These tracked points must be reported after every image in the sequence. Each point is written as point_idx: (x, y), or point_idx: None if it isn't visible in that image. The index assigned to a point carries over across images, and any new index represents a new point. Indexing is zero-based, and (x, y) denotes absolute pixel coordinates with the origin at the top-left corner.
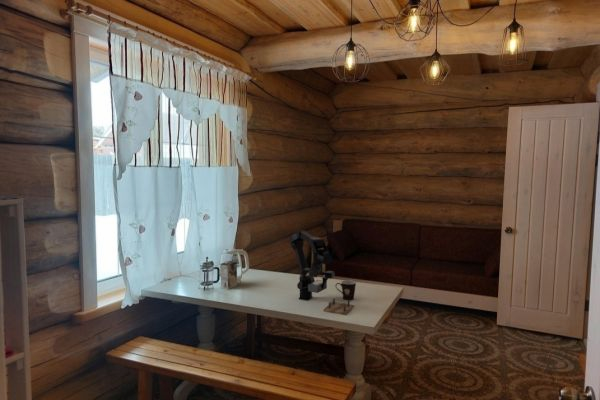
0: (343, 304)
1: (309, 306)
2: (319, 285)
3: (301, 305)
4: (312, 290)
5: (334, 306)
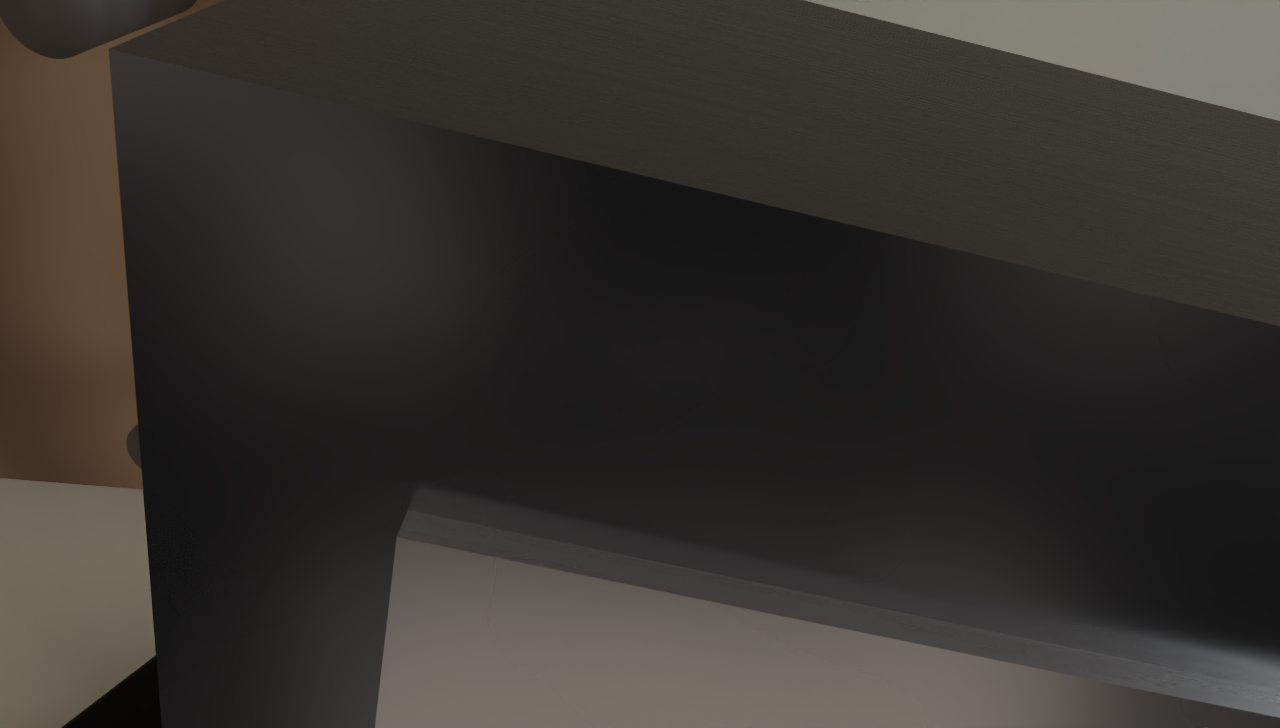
0: (1, 406)
1: (930, 23)
2: (191, 549)
3: (1238, 12)
4: (931, 56)
5: (112, 181)
